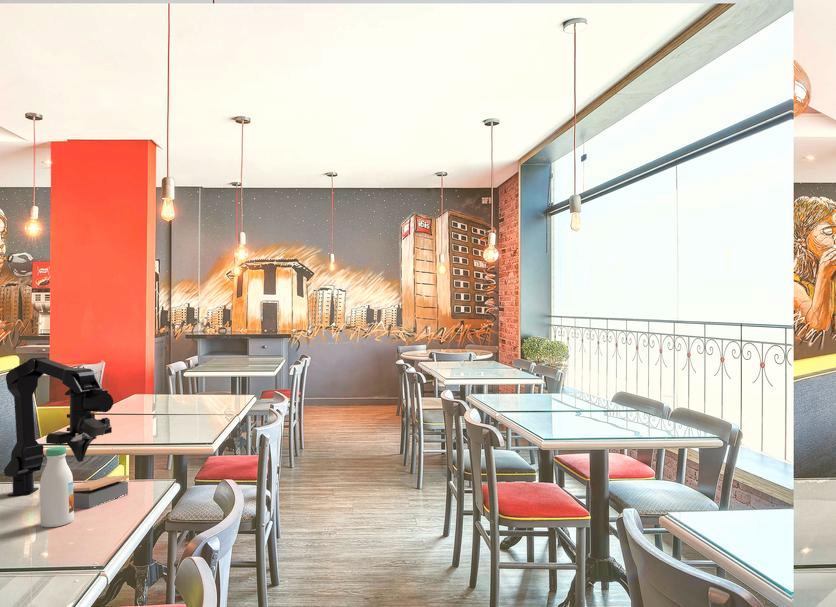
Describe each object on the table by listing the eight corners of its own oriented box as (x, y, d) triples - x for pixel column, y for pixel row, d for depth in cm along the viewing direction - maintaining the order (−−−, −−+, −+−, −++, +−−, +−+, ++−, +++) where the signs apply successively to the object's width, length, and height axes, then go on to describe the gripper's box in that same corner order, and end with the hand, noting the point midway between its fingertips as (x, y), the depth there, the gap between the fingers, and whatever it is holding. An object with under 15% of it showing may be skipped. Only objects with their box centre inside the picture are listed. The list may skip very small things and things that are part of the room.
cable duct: (66, 506, 177) (66, 492, 177) (106, 492, 190) (105, 479, 190) (89, 508, 174) (89, 494, 174) (128, 494, 187) (127, 481, 187)
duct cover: (66, 491, 177) (66, 489, 177) (106, 479, 190) (105, 476, 190) (90, 490, 174) (90, 487, 174) (129, 477, 187) (128, 475, 187)
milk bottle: (63, 527, 158) (61, 450, 158) (33, 528, 158) (32, 451, 158) (80, 518, 166) (78, 444, 166) (52, 518, 166) (50, 445, 166)
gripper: (73, 417, 174) (72, 471, 173) (125, 407, 191) (124, 456, 191) (44, 414, 177) (44, 468, 177) (98, 405, 195) (98, 453, 195)
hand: (80, 461), depth 185 cm, fingers closed
